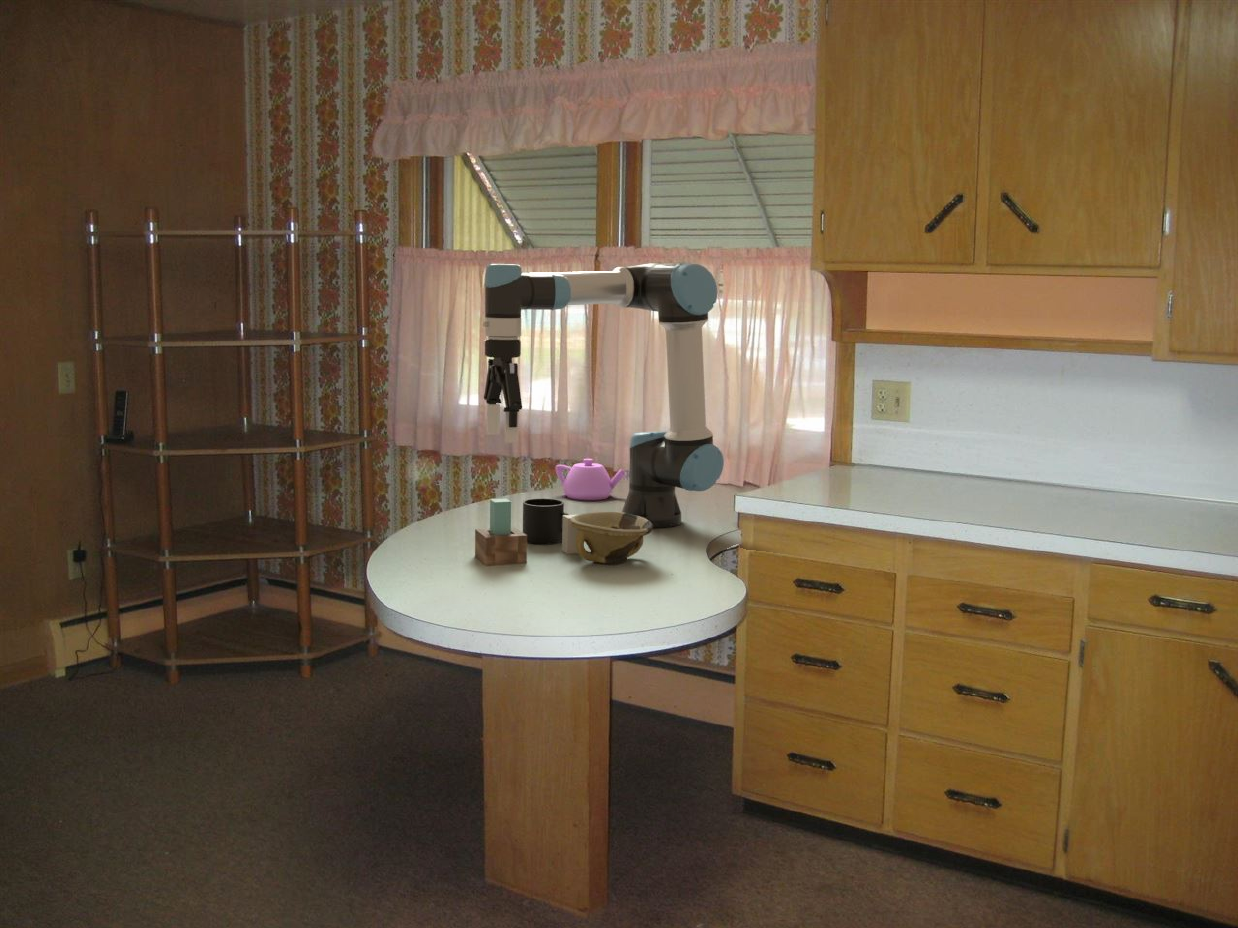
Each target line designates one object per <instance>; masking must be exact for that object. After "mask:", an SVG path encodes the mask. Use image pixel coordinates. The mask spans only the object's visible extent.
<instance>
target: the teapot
mask: <svg viewBox="0 0 1238 928" xmlns="http://www.w3.org/2000/svg"><path fill="white" fill-rule="evenodd" d="M562 470H567V471H568V473H567V474H566V476H565V478H564V476H563V473H562ZM555 473H556V476H557V477H558V479H559V481H560V482H561V484H562V486H563V487H562V491H563V493H564V494H565V495H566V497H567V498H569V499H572V500H579V501H599V500H605V499H608V497H610V495H612V493H613V489H615V488H616V486H617V485H618V484H619V483H621V480H623V478H625V477H626V475H627V472H626V471H625V470H624V469H622V468H620V469H619V470H618V471H617V472H616V474H614V476H613V477H612V478H611V477H610V474H609V473H608V472H607V469H606V468H605V467H604V465H603V464H600V463H596V462H595V463H594V459H593V458H584V459H583V462H581V463H580V462H579V463H575V464H573V466H572V467H571V466H570V465H569V466H568V465H565V464H557V465H556V466H555Z"/></svg>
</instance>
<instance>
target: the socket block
mask: <svg viewBox="0 0 1238 928" xmlns="http://www.w3.org/2000/svg"><path fill="white" fill-rule="evenodd" d="M474 532H475V533H474V556H475V558H477V559H478V560H479V561H480V562H481V563H482V564H484V565H485V566H498V565H501V566H502V565H513V564H527V563H528V542H527V535H526V534H524V533H523V530H522V531H521V530H520V529H518V528H517V527H516V526H511V534H507V535H492V534H490V527H489V528H488V527H486V528H475V529H474Z"/></svg>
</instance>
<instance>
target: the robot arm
mask: <svg viewBox="0 0 1238 928" xmlns="http://www.w3.org/2000/svg"><path fill="white" fill-rule="evenodd" d="M717 299H718V286H717V283H716V280H715V277H714V275H713V274H712V273H711V272H710V271H709V270H708V269H707V268H706V267H705V266H703V265H702V264H699V263H691V262H684V261H683V262H651V263H644V264H640V265H632V266H618V267H616V268H614V269H613V270H612V271H572V272H571V271H567V272H564V271H563V272H529V273H528V272H522V266H521V265H519V264H514V263H513V264H511V263H510V264H509V263H507V264H506V263H491V264H488V265H487V266H486V269H485V278H484V313H485V315H484V316H485V318H484V319H485V321H484V322H482V326H483V327H484V329H485V330H484V333H485V334H484V335H485V337H487V339H485V340H484V356H485V357H487V358H489V359H488V361H487V362H488V363H487V365H488V366H487V375H486V380H485V381H486V382H485V386H484V387H485V389H484V394H483V399H484V400H485V403H486V406H487V407H486V435H500V434H501V404H502V399H501V393H502V395H503V400H504V404H505V407H504V408H503V412H504V444H515V443H517V444H519V412H520V410H522V409H523V404H522V396H521V395H522V394H521V387H520V381H519V371H518V370H519V369H518V368H519V365H518V363H517V362H516V363H513V358H515V359H516V358H519V357H521V354H522V353H521V351H522V350H521V349H522V348H521V346H522V342H521V339H519V338H521V337H522V311H523V310H524V311H525V310H535V311H536V310H541V311H542V310H543V311H544V310H545V311H549V310H550V311H554V310H562V309H565V308H566V307H567V306H583V305H585V306H586V305H589V306H590V305H607V304H608V305H614V306H616V307H617V308H621V309H623V308H627V309H628V308H630V309H631V308H633V309H637V310H638V309H640V310H645V311H650V312H658V323H659V324H660V325H661V326H662V327H663V328H664V329H665V340H666V341H665V342H666V344H665V345H666V346H665V347H666V366H667V385H668V386H667V387H668V388H667V389H668V403H669V404H668V405H669V407H668V408H669V426H670V427H669V430H663V431H662V430H659V431H657V430H655V431H641V432H635V433H633V434H632V436H631V438H630V445H629V483H628V488H629V489H628V493H627V496H626V499H625V503H624V504H623V505H624V506H623V508H622V510H621V512H622V513H628V514H632V515H636V516H640V517H643V518H645V519H647V520H648V521H650V522H651V523H652V524H653V528H655V529H656V528H659V529H661V528H669V527H670V528H671V527H676V526H679V525H681V524H682V511H681V509H680V508H681V507H680V504H679V501H678V498H677V494H676V488H680V489H683V490H685V491H689V492H693V491H694V492H704V491H707V490H710V489H711V488H712V487H714V486H715V485H716V483H717V481H718V480H720V477H721V475H722V473H723V470H724V462H725V461H724V454H723V453H722V451H721V450H720V448H719V447H718V446H716V445H715V444H714V439H713V438H714V436H713V435H714V434H713V432H712V431H711V430H710V429H709V428H708V427H707V421H706V420H707V418H706V416H707V415H706V394H705V393H706V392H705V371H704V370H705V369H704V345H703V343H704V342H703V326H705V324H706V323H707V322H708V321H709V312H710V311H711V310H712V309H713V308H714V307H715V306H714V304H716V302H717ZM653 528H652V529H653Z"/></svg>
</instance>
